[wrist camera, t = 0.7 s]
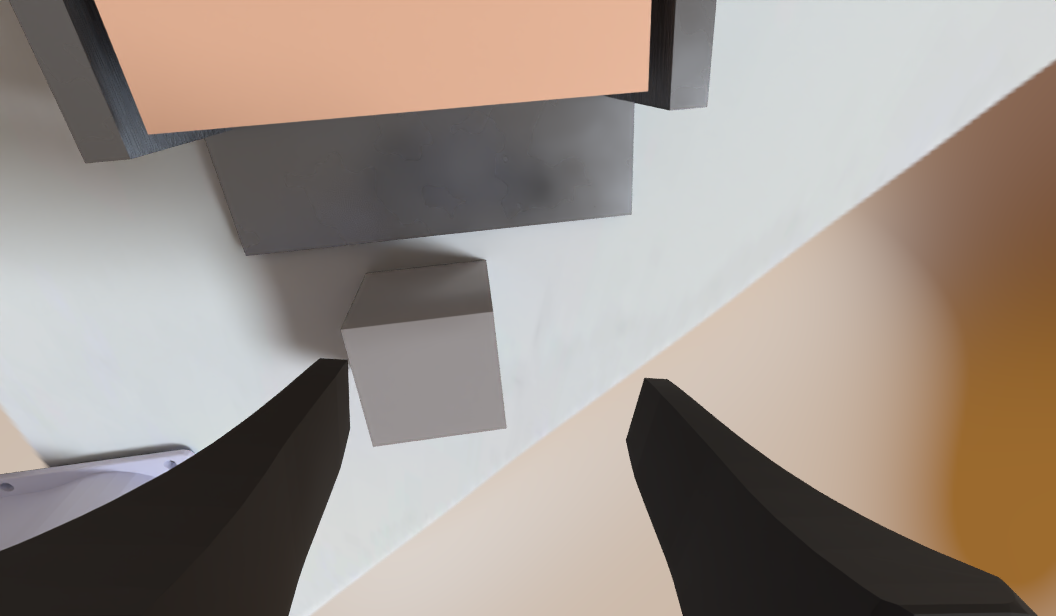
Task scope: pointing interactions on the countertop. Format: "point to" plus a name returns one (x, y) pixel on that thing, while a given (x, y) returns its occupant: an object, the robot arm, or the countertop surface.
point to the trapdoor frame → (387, 143)
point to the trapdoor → (367, 56)
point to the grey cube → (425, 353)
